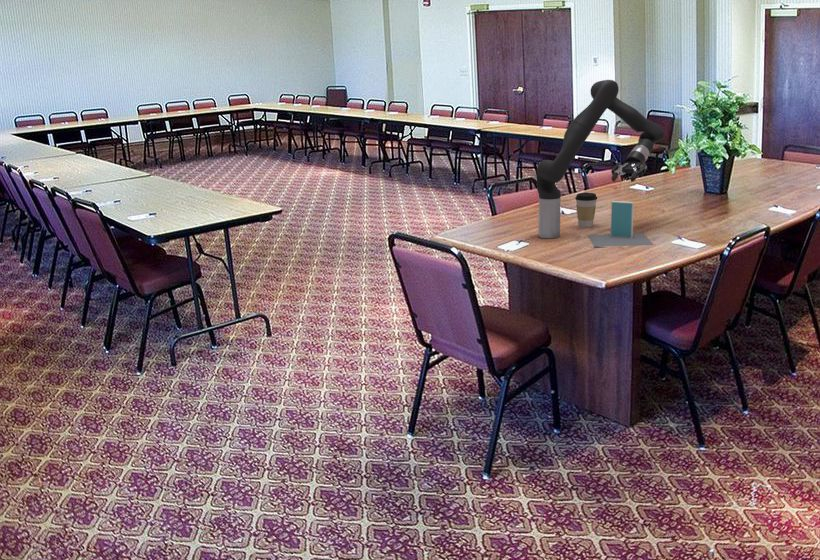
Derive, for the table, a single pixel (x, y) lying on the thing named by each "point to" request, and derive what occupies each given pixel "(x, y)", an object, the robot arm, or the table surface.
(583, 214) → the coffee cup
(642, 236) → the mat
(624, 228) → the tile
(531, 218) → the table surface
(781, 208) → the table surface
